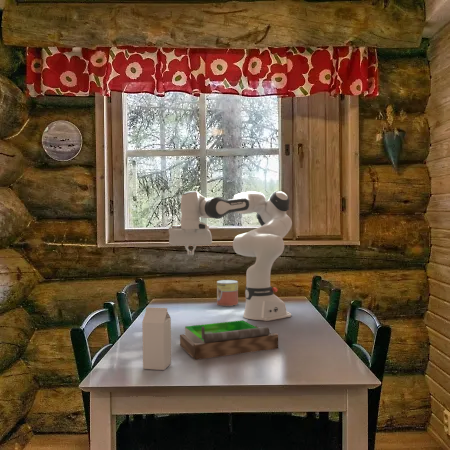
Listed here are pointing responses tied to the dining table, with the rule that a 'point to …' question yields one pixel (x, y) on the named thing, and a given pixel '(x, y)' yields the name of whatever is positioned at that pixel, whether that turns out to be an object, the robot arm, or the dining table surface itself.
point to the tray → (214, 329)
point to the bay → (230, 342)
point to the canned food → (227, 292)
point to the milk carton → (156, 338)
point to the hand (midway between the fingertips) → (190, 254)
